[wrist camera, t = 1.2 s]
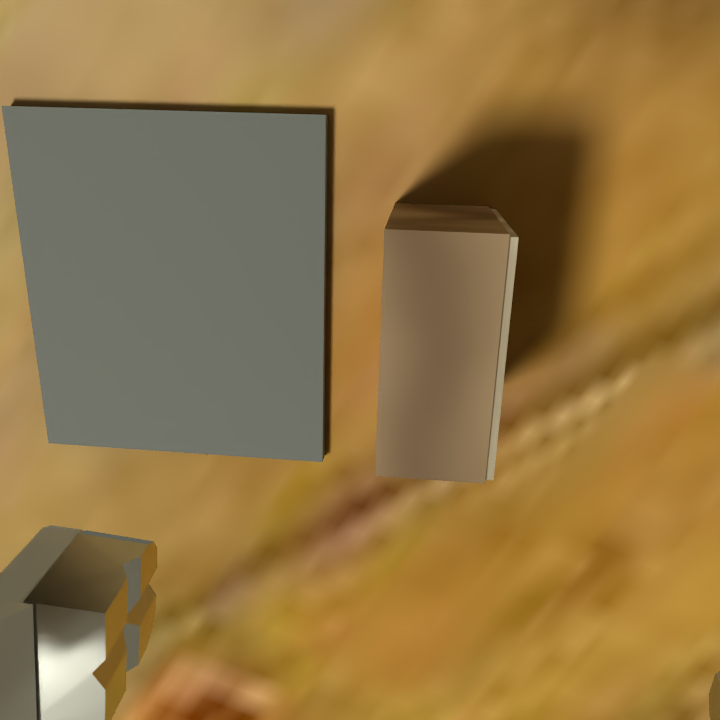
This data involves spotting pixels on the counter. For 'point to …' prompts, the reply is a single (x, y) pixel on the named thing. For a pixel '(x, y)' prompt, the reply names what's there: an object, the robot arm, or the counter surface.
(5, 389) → the counter surface
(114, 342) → the rubber mat
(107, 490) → the counter surface
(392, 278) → the wooden block
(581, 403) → the counter surface
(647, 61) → the counter surface
